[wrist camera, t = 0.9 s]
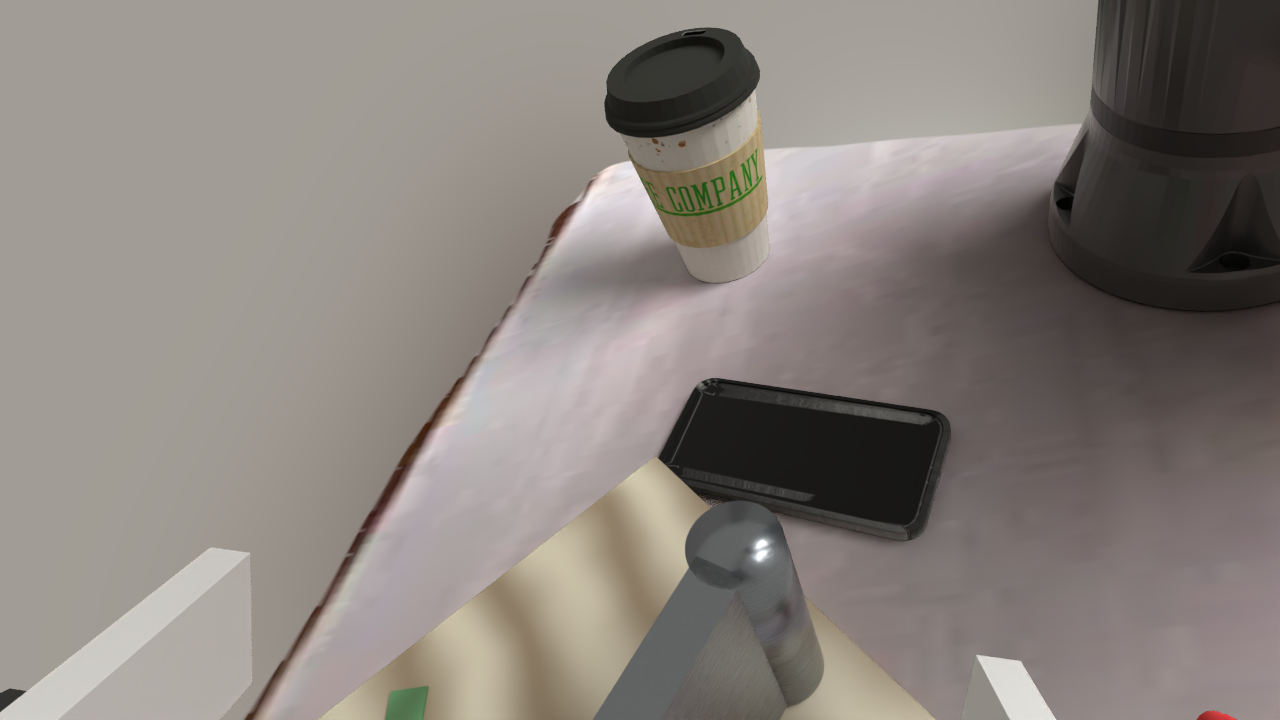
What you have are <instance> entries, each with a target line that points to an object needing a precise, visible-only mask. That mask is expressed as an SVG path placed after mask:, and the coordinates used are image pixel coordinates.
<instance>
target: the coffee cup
mask: <svg viewBox="0 0 1280 720" xmlns="http://www.w3.org/2000/svg"><path fill="white" fill-rule="evenodd" d="M759 79H760V70H759V67H758V65H757V62H756V60H755V58H754V56H753V55H752V54H751V53H750V52H749V51H748V50H747V49H746V48H745V47H744V45H743V44H742V42H741V40H740V38H739V37H738V36H737V35H736V34H734V33H732V32H730V31H728V30H724V29H720V28H695V29H688V30H683V31H679V32H675V33H671V34H668V35H665V36H662V37H659V38H657V39H655V40H652V41H650V42H648V43H646V44H644V45H642V46H640V47H638V48H636V49H635V50H633V51H632V52H630V53H629V54H627V55H626V56H625V57H624V58H622V59H621V60H620V61H619V62H618V63H617V64H616V65H615V66H614V67H613V68H612V70H611V72H610V73H609V75H608V79H607V95H606V99H605V113H606V120H607V122H608V124H609V125H610V127H611V128H613V129H614V130H615V131H617V132H619V133H620V134H621V136H622V138H623V140H624V142H625V144H626V146H627V148H628V153H629V157H630V159H631V161H632V163H633V165H634V167H635V169H636V171H637V173H638V175H639V177H640V179H641V181H642V183H643V185H644V187H645V189H646V191H647V193H648V195H649V197H650V199H651V201H652V203H653V205H654V207H655V209H656V211H657V213H658V215H659V217H660V219H661V221H662V223H663V225H664V227H665V229H666V231H667V233H668V235H669V236H670V238H672V239H673V241H674V243H675V245H676V247H677V249H678V251H679V253H680V255H681V257H682V259H683V261H684V263H685V265H686V267H687V269H688V271H689V273H690V274H691V275H692V276H693V277H695V278H697V279H698V280H701V281H704V282H710V283H723V282H730V281H734V280H737V279H740V278H742V277H745V276H747V275H749V274H750V273H752V272H754V271H755V270H756V269H757V268H759V267H760V266H761V265H762V264H763V263H764V261H765V260H766V258H767V256H768V254H769V251H770V242H769V231H768V221H767V209H768V196H767V185H766V174H765V162H764V151H763V140H762V129H761V117H760V113H759V110H758V108H757V106H756V95H755V88H756V86H757V84H758V82H759Z"/></svg>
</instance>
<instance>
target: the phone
mask: <svg viewBox="0 0 1280 720" xmlns="http://www.w3.org/2000/svg"><path fill="white" fill-rule="evenodd" d="M950 440H951V430H950V423H949V421H948V419H947V418H946V417H945V416H944V415H943V414H941V413H940V412H937V411H933V410H928V409H921V408H915V407H908V406H901V405H894V404H888V403H881V402H874V401H868V400H861V399H854V398H847V397H841V396H834V395H827V394H821V393H814V392H807V391H800V390H794V389H787V388H780V387H773V386H767V385H760V384H753V383H747V382H740V381H733V380H726V379H720V378H711V379H706V380H704V381H702V382H700V383H699V384H698V385H697V386H696V387H695V389H694V390H693V392H692V394H691V396H690V398H689V400H688V402H687V404H686V406H685V408H684V409H683V411H682V413H681V415H680V417H679V419H678V421H677V423H676V425H675V427H674V429H673V431H672V433H671V435H670V437H669V439H668V441H667V443H666V444H665V446H664V448H663V450H662V452H661V454H660V456H659V458H658V459H659V460H660V461H661V462H663V463H664V464H665V465H666V466H667V467H668V468H669V469H670V470H671V471H672V472H673V473H674V474H675V475H676V476H677V477H678V478H680V479H681V480H682V481H683V482H684V483H685V484H686V485H687V486H688V487H689V488H690V489H691V490H692V491H693V492H694V493H695V494H699V495H701V496H706V497H710V498H714V499H720V500H722V501H726V502H731V501H748V502H753V503H756V504H759V505H761V506H763V507H765V508H767V509H768V510H769V511H773V512H777V513H781V514H786V515H790V516H794V517H799V518H803V519H807V520H812V521H816V522H820V523H825V524H829V525H833V526H838V527H842V528H846V529H850V530H855V531H859V532H863V533H868V534H872V535H876V536H881V537H885V538H889V539H894V540H900V541H907V540H912V539H914V538H916V537H918V536H919V535H921V534H922V533H923V532H924V530H925V528H926V526H927V522H928V519H929V515H930V511H931V508H932V504H933V501H934V497H935V494H936V490H937V486H938V483H939V479H940V476H941V472H942V469H943V465H944V461H945V458H946V454H947V451H948V447H949V444H950Z"/></svg>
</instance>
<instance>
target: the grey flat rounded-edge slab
mask: <svg viewBox="0 0 1280 720" xmlns="http://www.w3.org/2000/svg"><path fill="white" fill-rule="evenodd" d="M685 557H686V561H687V564H688V566H689V568H688V570H687V571H686V573H685V574H684V576H683V577H682V579H681V581H680V582H679V584H678V585H677V587H676V589H675V590H674V592H673V593H672V595H671V596H670V598H669V600H668V601H667V603H666V604H665V606H664V608H663V609H662V611H661V612H660V614H659V615H658V617H657V619H656V620H655V622H654V623H653V625H652V627H651V628H650V630H649V631H648V633H647V634H646V636H645V638H644V639H643V641H642V642H641V644H640V646H639V647H638V649H637V650H636V652H635V653H634V655H633V657H632V658H631V660H630V661H629V663H628V665H627V666H626V668H625V669H624V671H623V672H622V674H621V676H620V677H619V679H618V680H617V682H616V684H615V685H614V687H613V688H612V690H611V691H610V693H609V695H608V696H607V698H606V699H605V701H604V703H603V704H602V706H601V707H600V709H599V710H598V712H597V714H596V715H595V717H594V718H593V720H780V719H781V717H782V715H783V713H784V711H785V709H786V707H787V706H788V705H793V704H797V703H799V702H801V701H803V700H805V699H807V698H808V697H809V696H810V695H811V694H812V693H814V691H815V690H816V689H817V687H818V686H819V684H820V682H821V680H822V677H823V673H824V658H823V654H822V651H821V648H820V644H819V641H818V638H817V635H816V632H815V629H814V626H813V623H812V619H811V616H810V613H809V610H808V607H807V604H806V601H805V598H804V594H803V591H802V588H801V585H800V582H799V579H798V576H797V573H796V570H795V566H794V563H793V560H792V557H791V554H790V551H789V548H788V545H787V541H786V538H785V535H784V532H783V529H782V526H781V524H780V522H779V521H778V519H777V518H776V516H775V515H774V514H773V513H772V512H771V511H769V510H768V509H767V508H765V507H763V506H761V505H759V504H756V503H753V502H748V501H731V502H726V503H722V504H719V505H717V506H715V507H713V508H711V509H709V510H708V511H706V512H705V513H703V514H702V515H701V516H700V517H699V518H698V519H697V520H696V521H695V523H694V524H693V525H692V527H691V529H690V530H689V533H688V535H687V538H686V542H685Z"/></svg>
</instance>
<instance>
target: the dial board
mask: <svg viewBox="0 0 1280 720" xmlns="http://www.w3.org/2000/svg"><path fill="white" fill-rule="evenodd" d="M709 509H711V508H710V507H709V506H708V505H707V504H706V503H705V502H704V501H703V500H702V499H701V498H700V497H699V496H698V495H697V494H695V493H694V492H693V491H692V490H691V489H690V488H689V487H688V486H687V485H686V484H685V483H684V482H683V481H682V480H681V479H680V478H678V477H677V476H676V475H675V474H674V473H673V472H672V471H671V470H670V469H669V468H668V467H667V466H666V465H665V464H664V463H663V462H661V461H660V460H659V459H658V458H657V457H656V456H655V457H653V458H652V459H651V460H649V461H648V462H647V463H646V464H644V465H643V466H642V467H640V468H639V469H638V470H637V471H635V472H634V473H633V474H631V475H630V476H629V477H628V478H626V479H625V480H624V481H623V482H621V483H620V484H619V485H617V486H616V487H615V488H614V489H612V490H611V491H610V492H608V493H607V494H606V495H605V496H603V497H602V498H601V499H599V500H598V501H597V502H596V503H594V504H593V505H592V506H591V507H589V508H588V509H587V510H585V511H584V512H583V513H582V514H580V515H579V516H578V517H576V518H575V519H574V520H573V521H571V522H570V523H569V524H567V525H566V526H565V527H564V528H562V529H561V530H560V531H558V532H557V533H556V534H555V535H553V536H552V537H551V538H550V539H548V540H547V541H546V542H544V543H543V544H542V545H541V546H539V547H538V548H537V549H535V550H534V551H533V552H532V553H530V554H529V555H528V556H526V557H525V558H524V559H523V560H521V561H520V562H519V563H518V564H516V565H515V566H514V567H512V568H511V569H510V570H509V571H507V572H506V573H505V574H503V575H502V576H501V577H500V578H498V579H497V580H496V581H494V582H493V583H492V584H491V585H489V586H488V587H487V588H486V589H484V590H483V591H482V592H480V593H479V594H478V595H477V596H475V597H474V598H473V599H471V600H470V601H469V602H468V603H466V604H465V605H464V606H462V607H461V608H460V609H459V610H457V611H456V612H455V613H454V614H452V615H451V616H450V617H448V618H447V619H446V620H445V621H443V622H442V623H441V624H439V625H438V626H437V627H436V628H434V629H433V630H432V631H430V632H429V633H428V634H427V635H425V636H424V637H423V638H422V639H420V640H419V641H418V642H416V643H415V644H414V645H413V646H411V647H410V648H409V649H407V650H406V651H405V652H404V653H402V654H401V655H400V656H398V657H397V658H396V659H395V660H393V661H392V662H391V663H389V664H388V665H387V666H386V667H384V668H383V669H382V670H381V671H379V672H378V673H377V674H375V675H374V676H373V677H372V678H370V679H369V680H368V681H366V682H365V683H364V684H363V685H361V686H360V687H359V688H357V689H356V690H355V691H354V692H352V693H351V694H350V695H349V696H347V697H346V698H345V699H343V700H342V701H341V702H340V703H338V704H337V705H336V706H334V707H333V708H332V709H331V710H329V711H328V712H327V713H325V714H324V715H323V716H322V717H320V718H319V719H318V720H593V718H594V717H595V715H596V714H597V712H598V710H599V709H600V707H601V706H602V704H603V703H604V701H605V699H606V698H607V696H608V695H609V693H610V691H611V690H612V688H613V687H614V685H615V684H616V682H617V680H618V679H619V677H620V676H621V674H622V672H623V671H624V669H625V668H626V666H627V665H628V663H629V661H630V660H631V658H632V657H633V655H634V653H635V652H636V650H637V649H638V647H639V646H640V644H641V642H642V641H643V639H644V638H645V636H646V634H647V633H648V631H649V630H650V628H651V627H652V625H653V623H654V622H655V620H656V619H657V617H658V615H659V614H660V612H661V611H662V609H663V608H664V606H665V604H666V603H667V601H668V600H669V598H670V596H671V595H672V593H673V592H674V590H675V589H676V587H677V585H678V584H679V582H680V581H681V579H682V577H683V576H684V574H685V573H686V571H687V570H688V568H689V566H688V564H687V561H686V557H685V542H686V538H687V535H688V533H689V530H690V529H691V527H692V525H693V524H694V523H695V521H696V520H697V519H698V518H699V517H700V516H701V515H702V514H703V513H705V512H706V511H708V510H709ZM804 598H805V601H806V604H807V607H808V610H809V613H810V616H811V619H812V623H813V626H814V629H815V632H816V635H817V638H818V641H819V644H820V648H821V651H822V654H823V658H824V673H823V677H822V680H821V682H820V684H819V686H818V687H817V689H816V690H815V691H814V693H812V694H811V695H810V696H809V697H808V698H807V699H805V700H803V701H801V702H799V703H797V704H793V705H788V706H787V707H786V709H785V711H784V713H783V715H782V717H781V719H780V720H936V719H935V718H934V717H933V716H932V715H931V714H929V713H928V712H927V711H926V710H925V709H924V708H923V707H922V706H921V705H920V704H919V703H918V702H917V701H916V700H915V699H914V698H912V697H911V696H910V695H909V694H908V693H907V692H906V691H905V690H904V689H903V688H902V687H901V686H900V685H899V684H898V683H896V682H895V681H894V680H893V679H892V678H891V677H890V676H889V675H888V674H887V673H886V672H885V671H884V670H883V669H882V668H881V667H879V666H878V665H877V664H876V663H875V662H874V661H873V660H872V659H871V658H870V657H869V656H868V655H867V654H866V653H865V652H864V651H862V650H861V649H860V648H859V647H858V646H857V645H856V644H855V643H854V642H853V641H852V640H851V639H850V638H849V637H848V636H847V635H845V634H844V633H843V632H842V631H841V630H840V629H839V628H838V627H837V626H836V625H835V624H834V623H833V622H832V621H831V620H829V619H828V618H827V617H826V616H825V615H824V614H823V613H822V612H821V611H820V610H819V609H818V608H817V607H816V606H815V605H814V604H812V603H811V602H810V601H809V600H808V599H807V598H806V597H805V596H804Z"/></svg>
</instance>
